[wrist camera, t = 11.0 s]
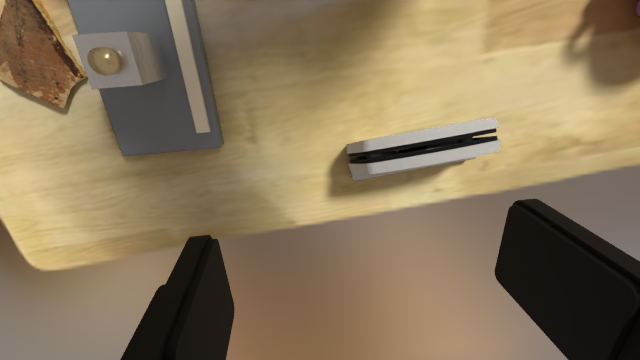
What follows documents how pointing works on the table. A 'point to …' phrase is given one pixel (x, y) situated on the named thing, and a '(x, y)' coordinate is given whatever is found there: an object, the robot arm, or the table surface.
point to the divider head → (121, 58)
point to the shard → (36, 53)
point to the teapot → (638, 8)
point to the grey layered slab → (438, 150)
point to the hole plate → (164, 95)
